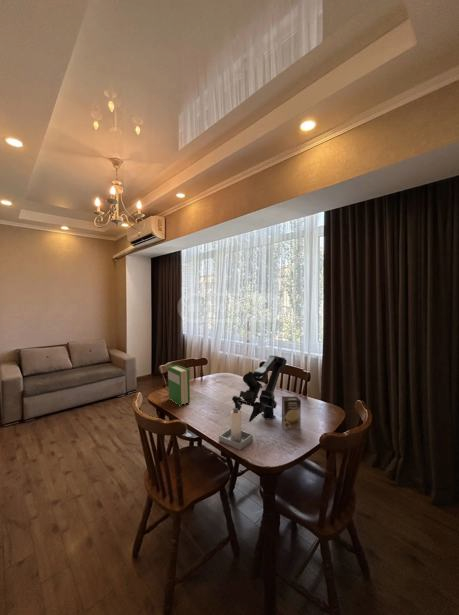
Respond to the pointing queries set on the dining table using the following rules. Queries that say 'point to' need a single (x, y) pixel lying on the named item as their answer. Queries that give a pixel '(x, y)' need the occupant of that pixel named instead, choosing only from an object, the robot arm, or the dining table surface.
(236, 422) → the cream bottle
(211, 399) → the dining table surface
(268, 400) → the robot arm
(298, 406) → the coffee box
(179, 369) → the hardback book
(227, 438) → the tray
